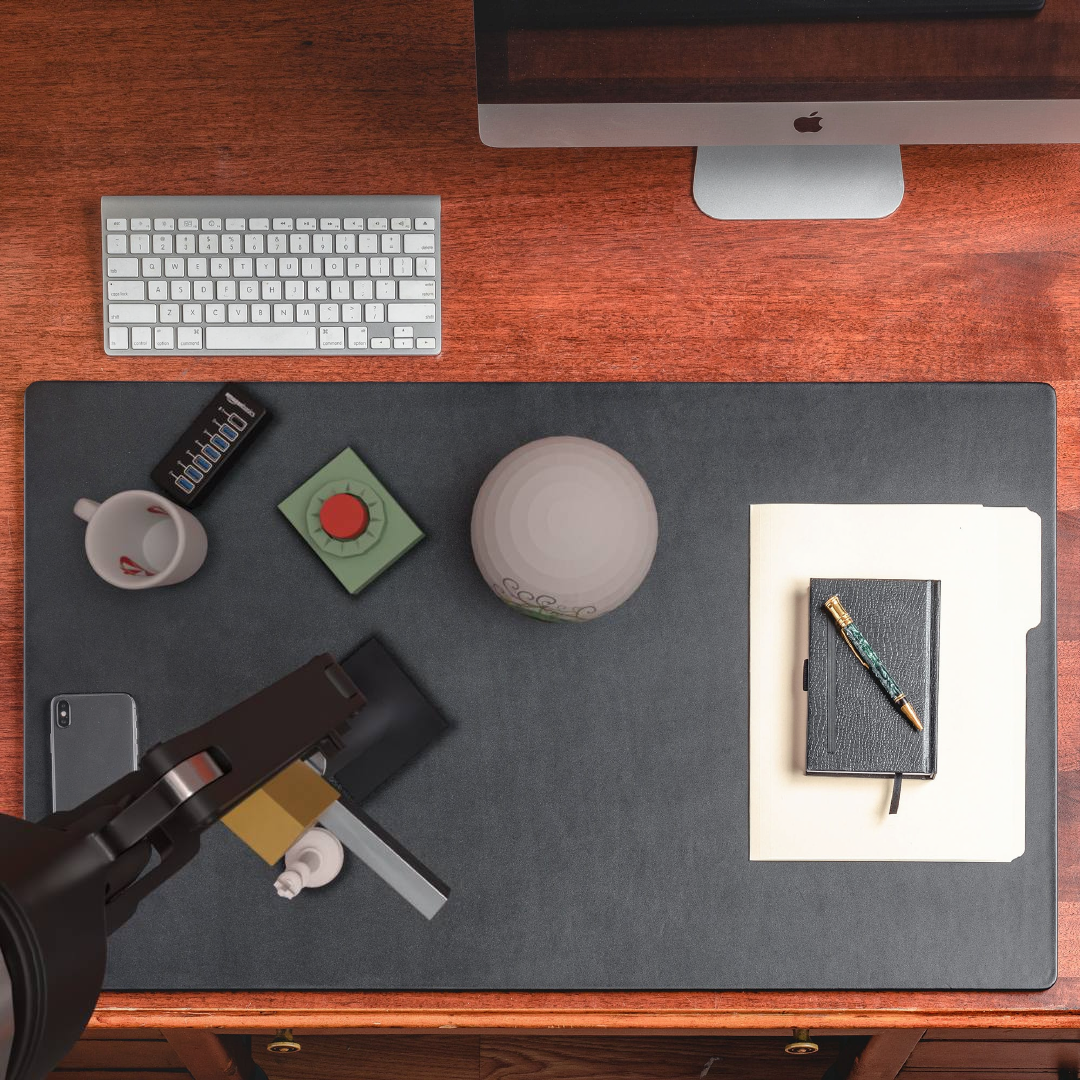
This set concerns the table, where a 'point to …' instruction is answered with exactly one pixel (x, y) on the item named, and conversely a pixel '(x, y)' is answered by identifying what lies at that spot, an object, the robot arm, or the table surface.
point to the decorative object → (564, 529)
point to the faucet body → (380, 723)
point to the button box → (381, 536)
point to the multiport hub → (211, 445)
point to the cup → (142, 540)
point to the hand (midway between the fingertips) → (211, 806)
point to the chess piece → (310, 862)
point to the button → (343, 516)
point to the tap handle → (311, 798)
